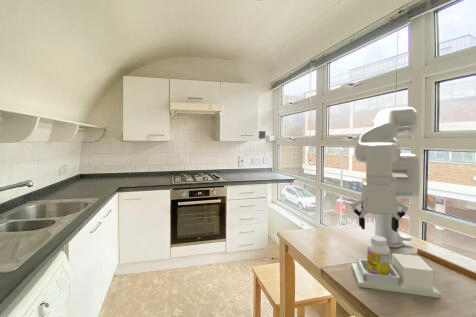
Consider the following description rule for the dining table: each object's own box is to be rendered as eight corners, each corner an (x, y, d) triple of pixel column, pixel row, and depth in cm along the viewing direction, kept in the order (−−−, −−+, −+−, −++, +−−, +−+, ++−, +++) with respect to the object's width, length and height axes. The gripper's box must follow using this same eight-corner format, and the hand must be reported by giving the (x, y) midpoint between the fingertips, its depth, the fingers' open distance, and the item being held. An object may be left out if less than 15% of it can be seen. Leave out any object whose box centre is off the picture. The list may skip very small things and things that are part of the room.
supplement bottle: (362, 269, 84) (363, 234, 83) (380, 268, 84) (381, 234, 83) (374, 280, 77) (375, 242, 76) (394, 279, 77) (395, 241, 77)
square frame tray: (419, 274, 82) (419, 254, 82) (439, 297, 70) (440, 273, 70) (351, 266, 89) (351, 247, 88) (358, 286, 76) (359, 264, 76)
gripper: (403, 178, 80) (402, 227, 81) (348, 178, 85) (348, 223, 86) (413, 182, 73) (412, 235, 74) (352, 181, 78) (352, 231, 79)
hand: (378, 229), depth 80 cm, fingers open, 9 cm apart
